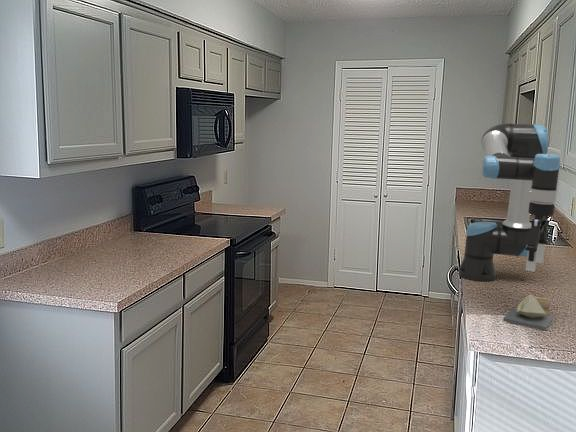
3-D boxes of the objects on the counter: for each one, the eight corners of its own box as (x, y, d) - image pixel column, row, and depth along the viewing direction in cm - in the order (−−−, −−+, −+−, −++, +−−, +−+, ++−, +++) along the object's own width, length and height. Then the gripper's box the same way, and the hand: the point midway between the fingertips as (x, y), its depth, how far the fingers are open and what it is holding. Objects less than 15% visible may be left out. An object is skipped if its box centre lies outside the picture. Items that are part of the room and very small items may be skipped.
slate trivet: (512, 311, 199) (512, 308, 199) (552, 319, 192) (553, 316, 192) (503, 321, 189) (503, 317, 188) (545, 330, 182) (546, 327, 181)
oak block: (530, 310, 202) (532, 296, 201) (546, 312, 200) (547, 298, 199) (532, 314, 197) (533, 300, 196) (547, 316, 196) (549, 302, 195)
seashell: (508, 306, 193) (524, 293, 195) (522, 328, 192) (538, 314, 195) (522, 305, 185) (539, 291, 187) (537, 327, 184) (554, 313, 187)
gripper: (537, 197, 196) (530, 257, 200) (521, 205, 175) (513, 272, 179) (561, 200, 192) (553, 261, 196) (547, 208, 171) (539, 276, 175)
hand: (534, 266), depth 187 cm, fingers open, 13 cm apart
